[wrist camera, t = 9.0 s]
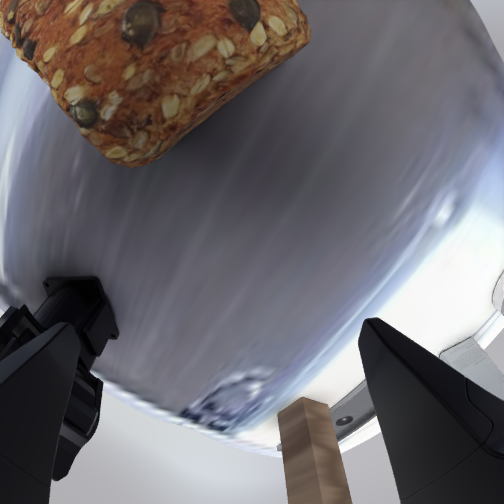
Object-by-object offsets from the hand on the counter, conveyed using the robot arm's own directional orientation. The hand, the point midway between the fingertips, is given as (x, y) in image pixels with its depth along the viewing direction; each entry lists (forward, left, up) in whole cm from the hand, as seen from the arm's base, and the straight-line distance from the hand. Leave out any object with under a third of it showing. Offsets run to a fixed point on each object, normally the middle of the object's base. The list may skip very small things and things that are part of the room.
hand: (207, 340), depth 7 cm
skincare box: (+28, -20, -12) cm, 36 cm away
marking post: (+7, -25, -12) cm, 28 cm away
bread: (-5, +14, -13) cm, 19 cm away
